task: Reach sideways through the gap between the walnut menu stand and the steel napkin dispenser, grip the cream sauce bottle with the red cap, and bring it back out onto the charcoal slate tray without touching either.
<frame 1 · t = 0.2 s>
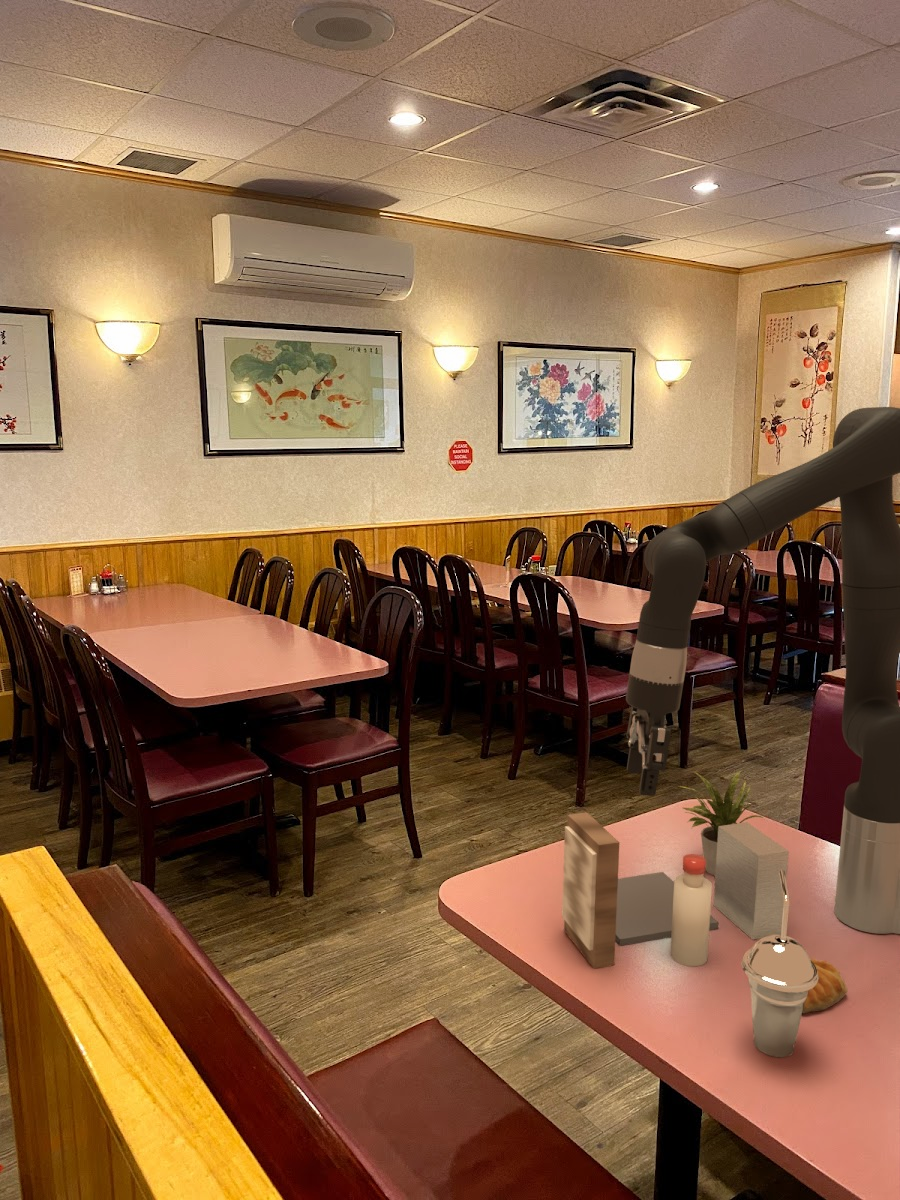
hand: (640, 783, 131), 22 cm above the table, tool pointing down, fingers open, 8 cm apart
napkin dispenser: (746, 919, 137), on the table
sauce bottle: (688, 956, 127), on the table
menu stand: (588, 947, 129), on the table
slate tray: (642, 909, 139), on the table
house plant: (718, 867, 153), on the table
pastry: (811, 998, 118), on the table
cup with straw: (774, 1045, 109), on the table
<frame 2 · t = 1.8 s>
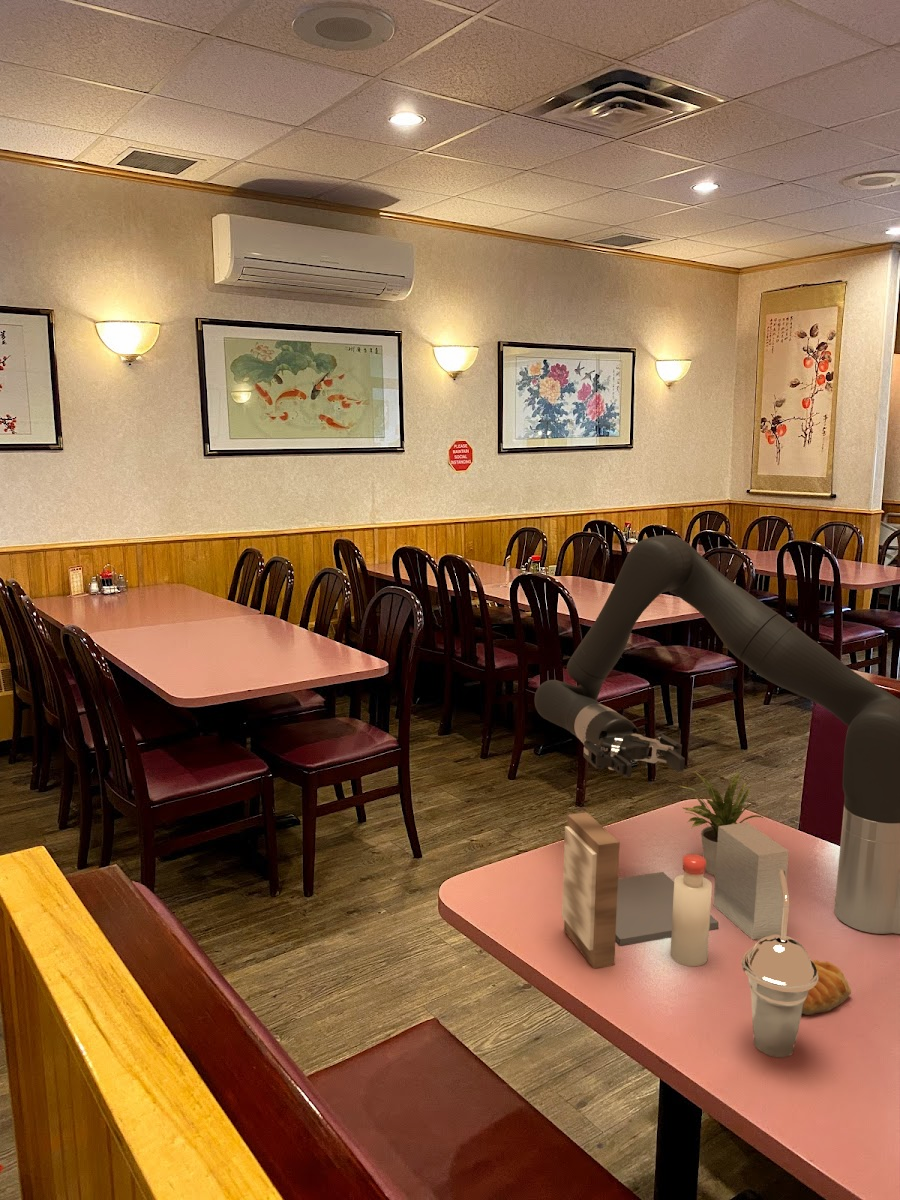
hand: (656, 768, 133), 23 cm above the table, tool horizontal, fingers open, 8 cm apart
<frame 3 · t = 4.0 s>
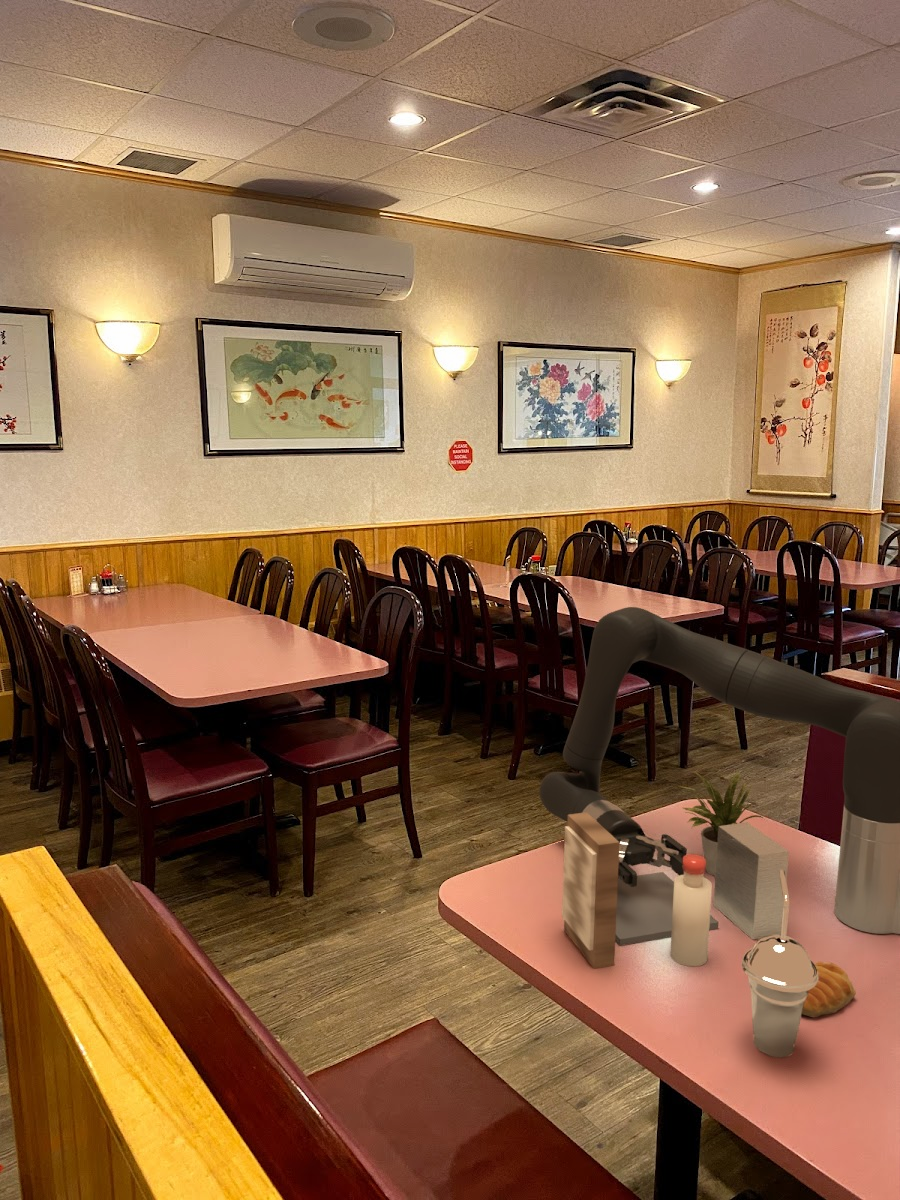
hand: (661, 877, 134), 8 cm above the table, tool horizontal, fingers open, 8 cm apart
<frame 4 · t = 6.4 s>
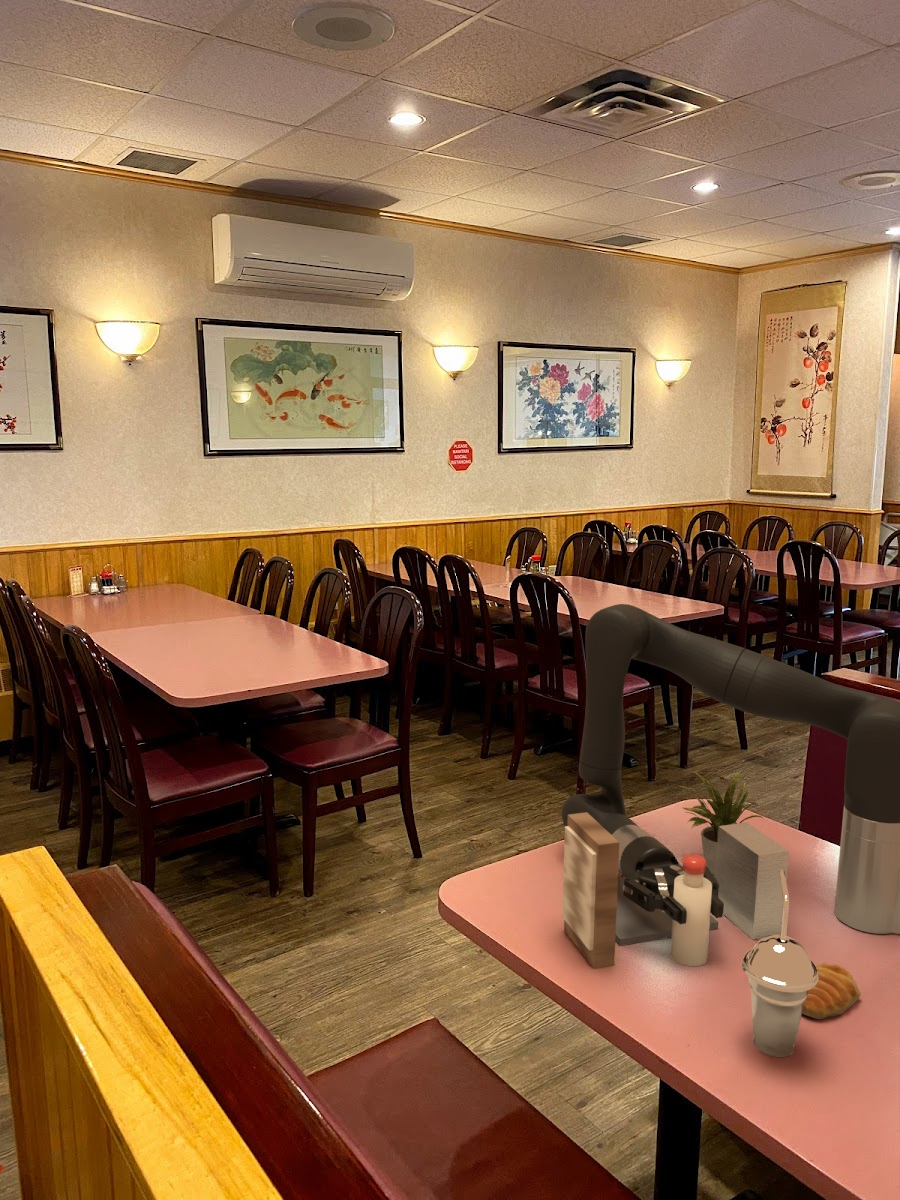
hand: (702, 914, 123), 8 cm above the table, tool horizontal, fingers closed on sauce bottle, 5 cm apart
sauce bottle: (688, 955, 127), on the table, touching gripper
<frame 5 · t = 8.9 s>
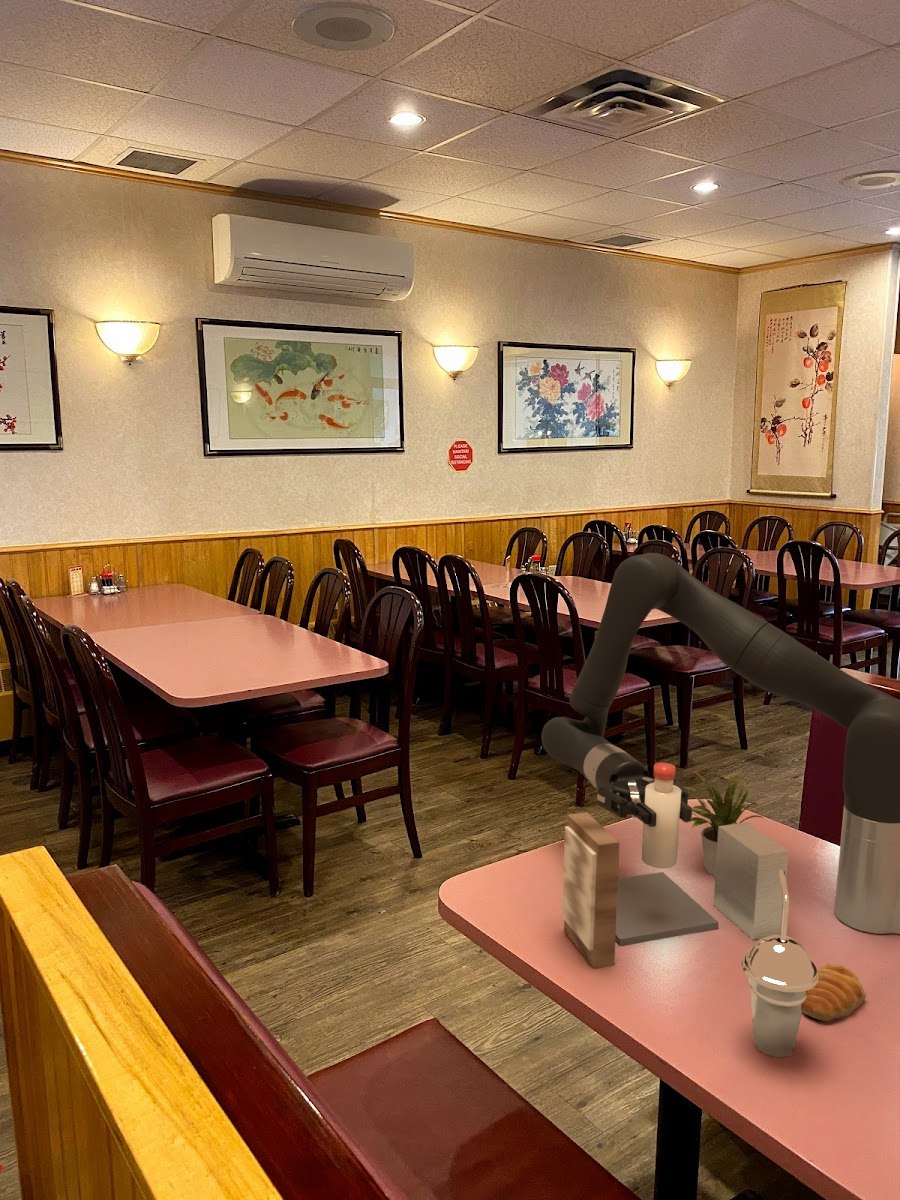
hand: (671, 818, 129), 18 cm above the table, tool horizontal, fingers closed on sauce bottle, 5 cm apart
sauce bottle: (659, 860, 133), point 10 cm above the table, touching gripper
when the fingers open (10 cm above the table, at t = 11.7 s): sauce bottle drops 1 cm, resting on slate tray.
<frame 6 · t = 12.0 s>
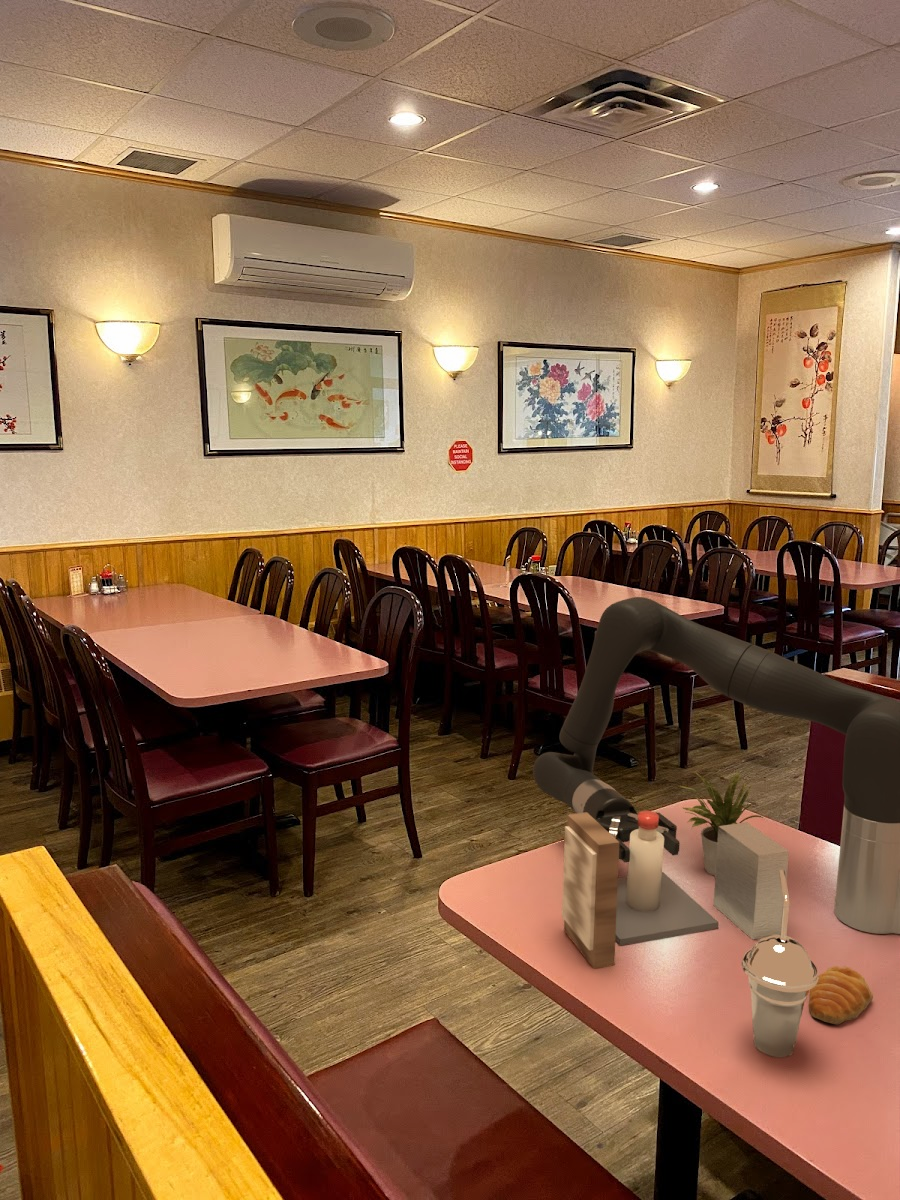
hand: (652, 852, 136), 10 cm above the table, tool horizontal, fingers open, 7 cm apart
sauce bottle: (642, 902, 139), point 1 cm above the table, touching slate tray
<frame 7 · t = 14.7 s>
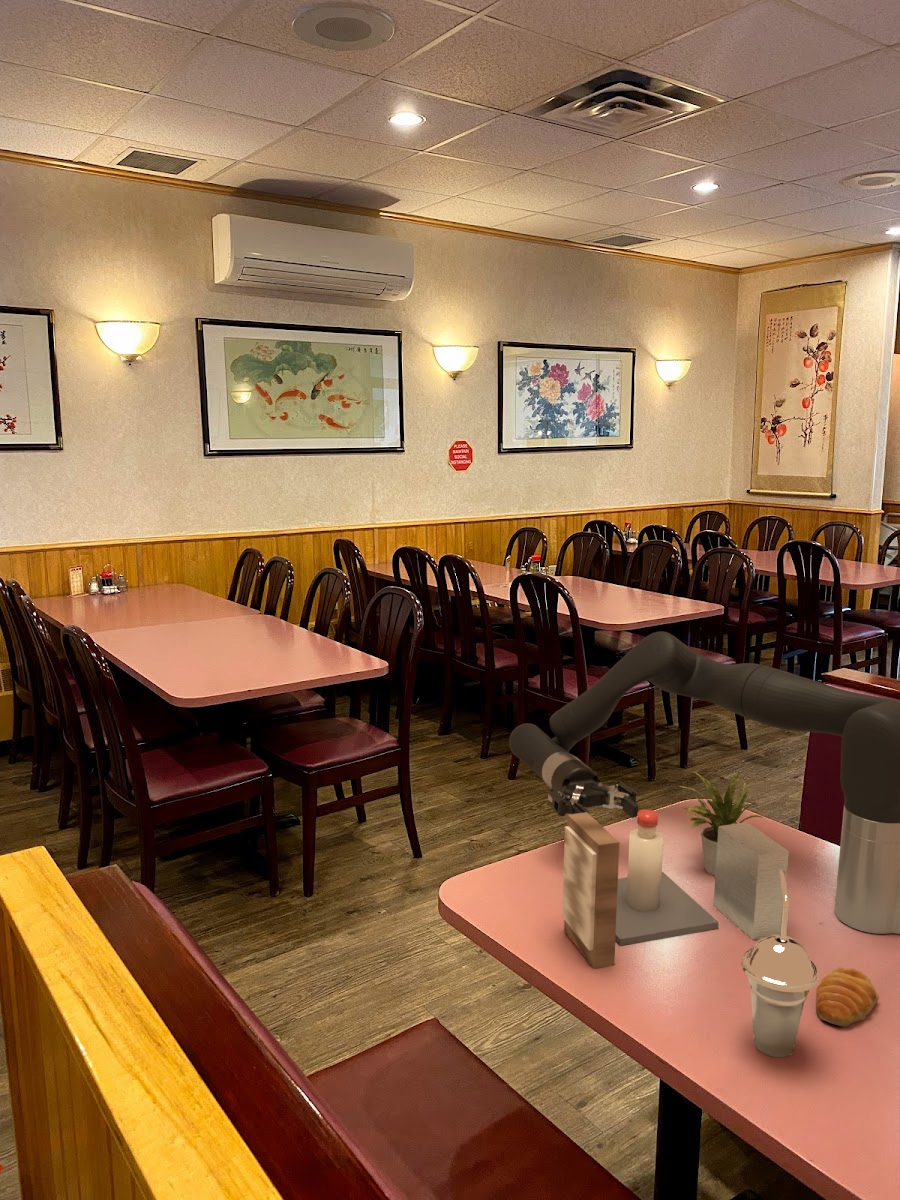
hand: (611, 815, 148), 11 cm above the table, tool horizontal, fingers open, 8 cm apart
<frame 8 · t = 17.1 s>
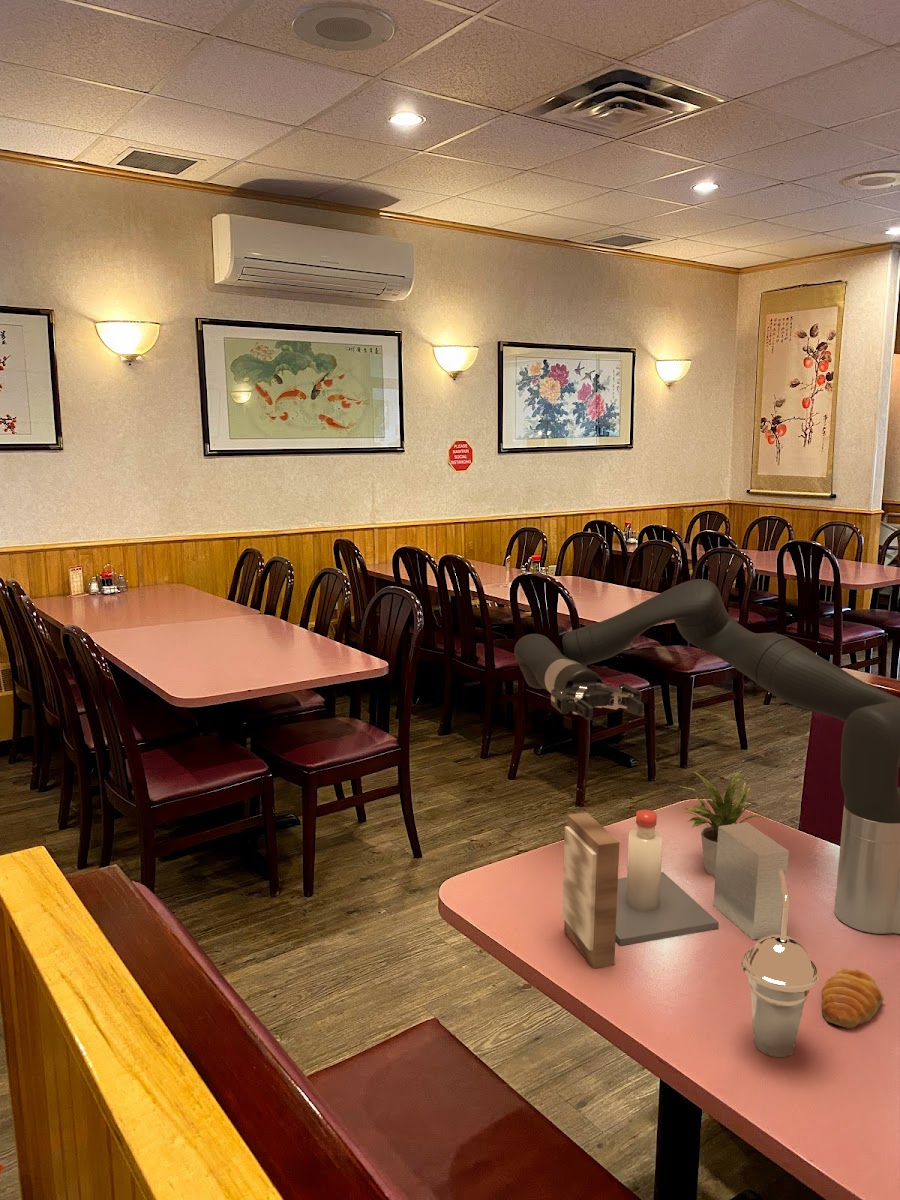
hand: (615, 711, 145), 28 cm above the table, tool horizontal, fingers open, 8 cm apart
at the end: sauce bottle inside the target area on the slate tray (0.1 cm from its centre), point 1.0 cm above the slate tray's base; sauce bottle tilted 0°; the gripper is holding nothing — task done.
